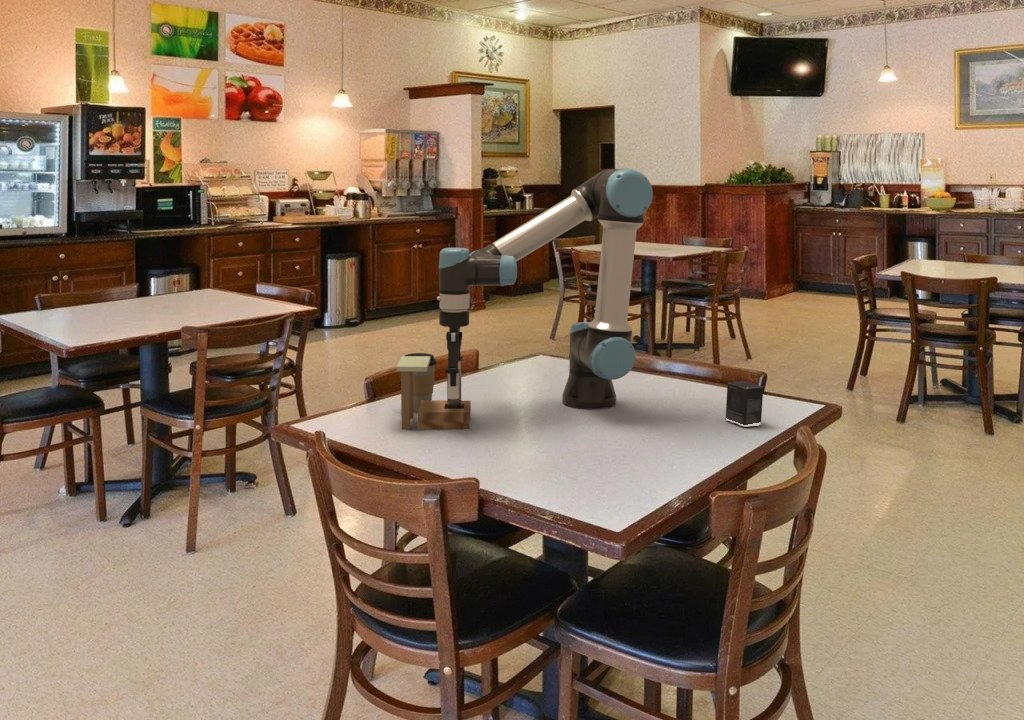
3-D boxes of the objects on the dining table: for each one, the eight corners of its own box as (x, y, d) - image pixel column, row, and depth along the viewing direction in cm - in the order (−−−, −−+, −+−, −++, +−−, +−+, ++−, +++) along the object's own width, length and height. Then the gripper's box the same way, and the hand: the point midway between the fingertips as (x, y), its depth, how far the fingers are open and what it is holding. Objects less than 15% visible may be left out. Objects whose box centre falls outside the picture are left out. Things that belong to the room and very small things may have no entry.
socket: (470, 417, 247) (470, 400, 246) (469, 429, 235) (469, 412, 234) (421, 416, 247) (421, 400, 246) (417, 429, 235) (417, 412, 234)
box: (761, 426, 241) (764, 386, 239) (743, 428, 239) (746, 388, 237) (741, 418, 248) (744, 380, 246) (724, 421, 246) (726, 381, 244)
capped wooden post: (430, 416, 247) (430, 356, 244) (427, 429, 235) (426, 366, 231) (402, 416, 247) (401, 356, 244) (397, 429, 234) (396, 366, 231)
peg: (461, 421, 243) (461, 368, 240) (461, 425, 239) (461, 371, 237) (447, 421, 243) (447, 368, 240) (447, 425, 239) (446, 371, 236)
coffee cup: (431, 415, 248) (430, 360, 245) (397, 413, 250) (396, 358, 247) (440, 406, 257) (440, 353, 254) (408, 404, 259) (407, 351, 256)
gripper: (441, 302, 247) (442, 381, 252) (436, 317, 223) (436, 404, 227) (470, 302, 247) (470, 381, 252) (467, 317, 223) (467, 404, 227)
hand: (454, 392), depth 239 cm, fingers open, 13 cm apart
